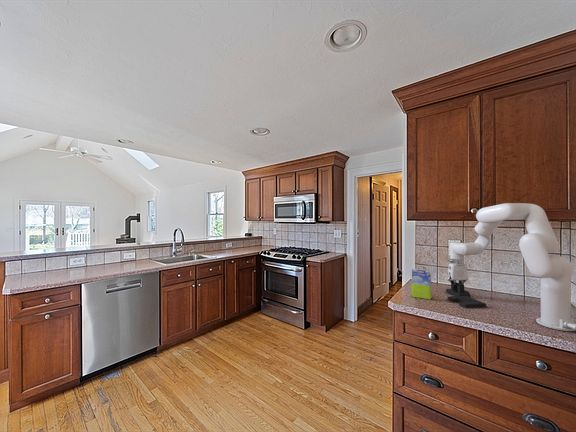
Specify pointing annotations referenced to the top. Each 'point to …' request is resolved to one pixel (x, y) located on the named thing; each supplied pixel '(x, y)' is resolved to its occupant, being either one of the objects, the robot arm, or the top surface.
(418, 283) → the box
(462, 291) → the pad
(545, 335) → the top surface
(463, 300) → the base pad
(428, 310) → the top surface
